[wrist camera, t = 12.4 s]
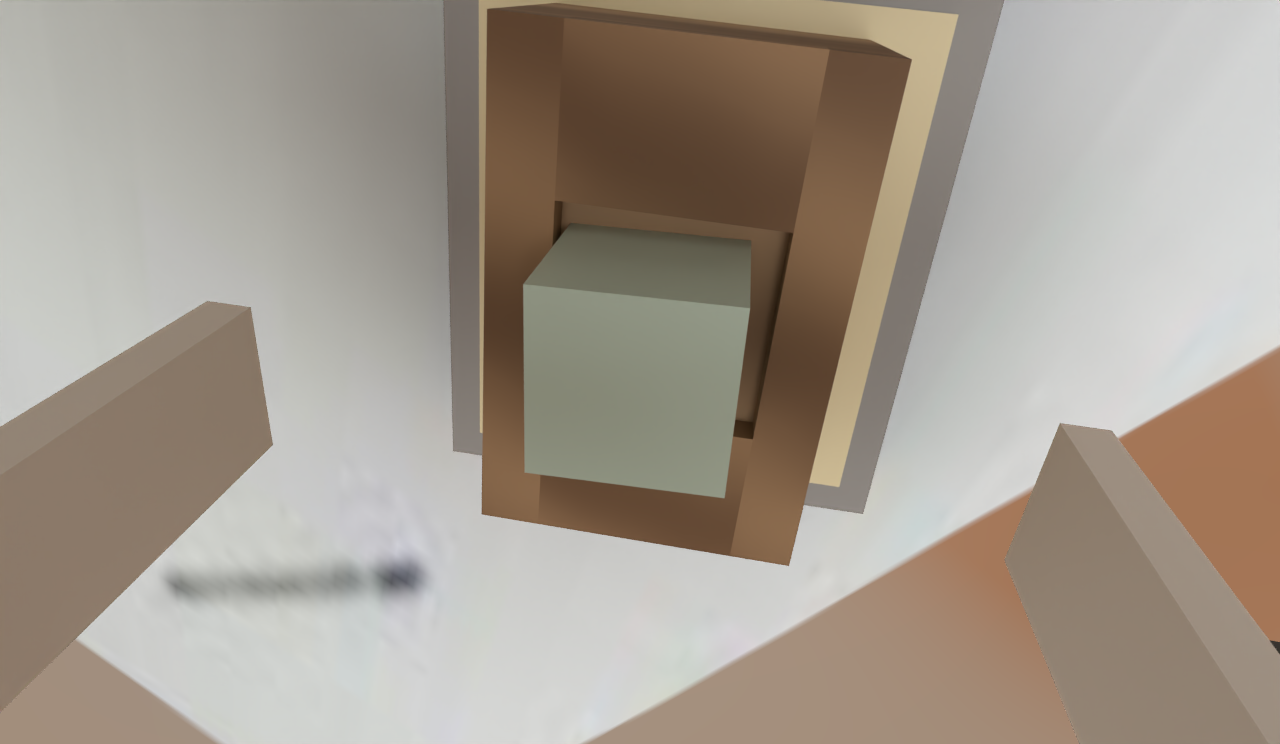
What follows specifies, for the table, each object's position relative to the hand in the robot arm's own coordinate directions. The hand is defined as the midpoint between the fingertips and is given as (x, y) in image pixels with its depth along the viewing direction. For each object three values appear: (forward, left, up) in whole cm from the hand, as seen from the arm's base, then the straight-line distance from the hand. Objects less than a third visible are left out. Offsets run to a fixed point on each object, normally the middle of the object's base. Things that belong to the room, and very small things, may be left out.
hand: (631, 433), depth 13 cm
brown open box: (0, 0, -11) cm, 11 cm away
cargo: (0, 0, -6) cm, 6 cm away
